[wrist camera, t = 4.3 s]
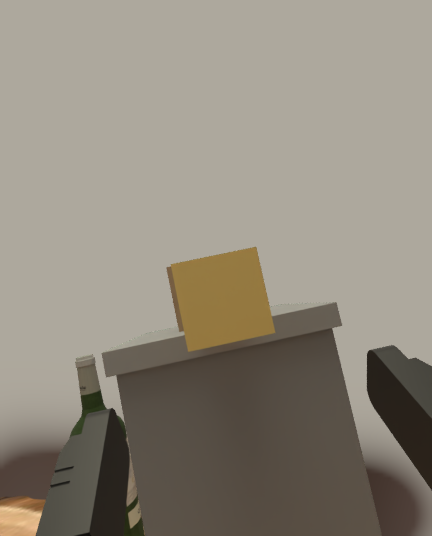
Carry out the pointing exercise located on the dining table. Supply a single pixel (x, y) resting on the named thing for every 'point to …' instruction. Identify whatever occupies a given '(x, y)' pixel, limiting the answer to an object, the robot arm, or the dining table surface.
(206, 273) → the peg
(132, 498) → the wine bottle
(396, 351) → the robot arm
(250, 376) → the stand
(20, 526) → the dining table surface
